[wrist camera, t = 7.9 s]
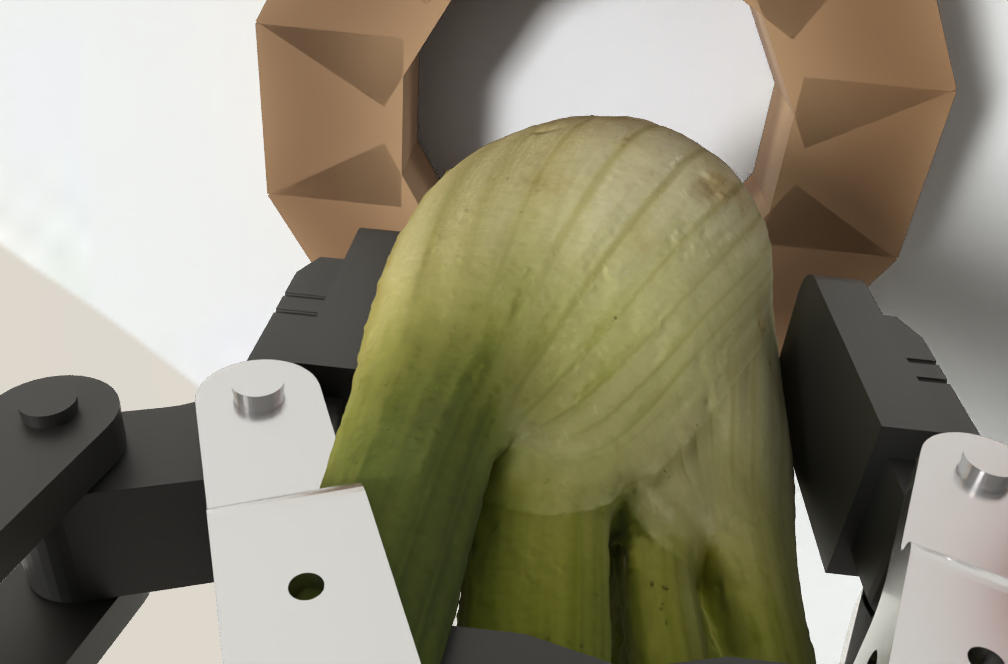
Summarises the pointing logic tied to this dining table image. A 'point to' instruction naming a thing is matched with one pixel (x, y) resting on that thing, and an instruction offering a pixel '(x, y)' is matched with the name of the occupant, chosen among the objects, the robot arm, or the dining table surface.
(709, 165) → the fennel bulb
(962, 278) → the dining table surface
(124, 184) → the dining table surface
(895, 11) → the walnut ring
